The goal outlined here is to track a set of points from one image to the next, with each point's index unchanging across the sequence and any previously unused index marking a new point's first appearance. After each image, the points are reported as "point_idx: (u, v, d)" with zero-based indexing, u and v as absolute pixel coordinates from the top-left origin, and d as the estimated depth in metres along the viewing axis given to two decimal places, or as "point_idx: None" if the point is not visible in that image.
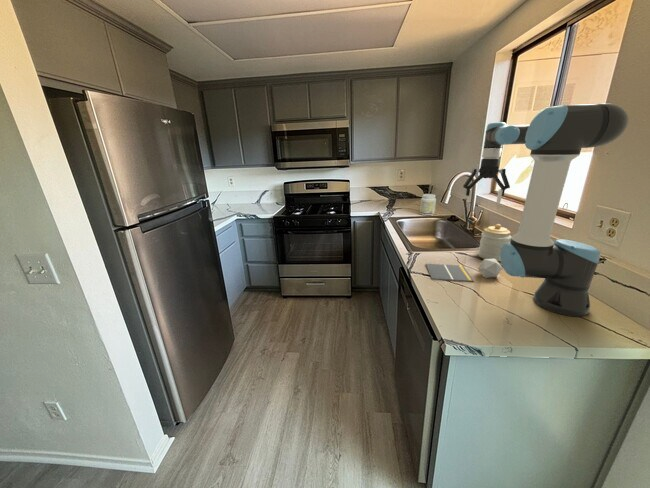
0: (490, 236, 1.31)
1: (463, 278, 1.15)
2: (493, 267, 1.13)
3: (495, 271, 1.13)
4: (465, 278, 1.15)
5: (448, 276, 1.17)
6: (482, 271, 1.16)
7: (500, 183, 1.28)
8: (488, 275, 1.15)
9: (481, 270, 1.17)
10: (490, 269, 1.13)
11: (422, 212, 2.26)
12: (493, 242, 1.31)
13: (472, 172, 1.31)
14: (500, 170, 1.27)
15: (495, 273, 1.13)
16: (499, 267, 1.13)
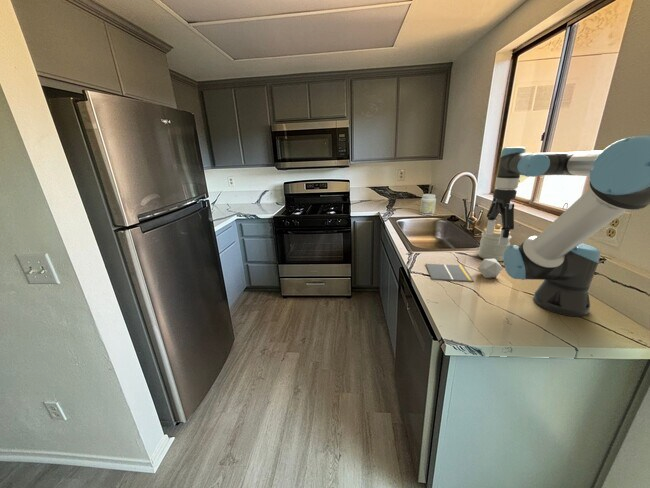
0: (490, 236, 1.31)
1: (463, 278, 1.15)
2: (493, 267, 1.13)
3: (495, 271, 1.13)
4: (465, 278, 1.15)
5: (448, 276, 1.17)
6: (482, 271, 1.16)
7: (502, 220, 1.04)
8: (488, 275, 1.15)
9: (481, 270, 1.17)
10: (490, 269, 1.13)
11: (422, 212, 2.26)
12: (493, 242, 1.31)
13: None
14: None
15: (495, 273, 1.13)
16: (499, 267, 1.13)
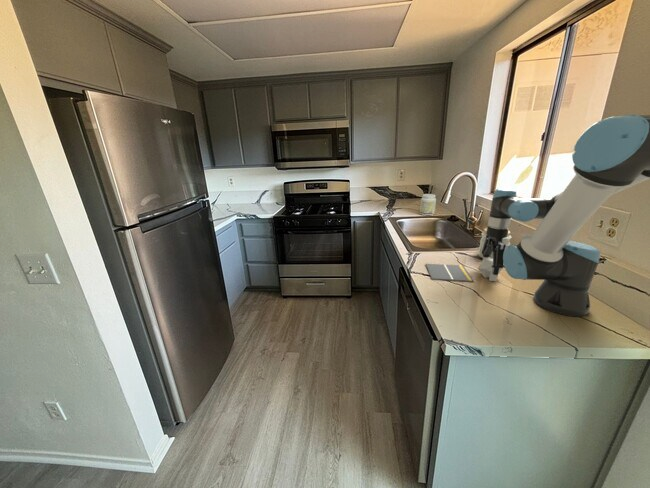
0: None
1: (463, 278, 1.15)
2: None
3: None
4: (465, 278, 1.15)
5: (448, 276, 1.17)
6: (482, 271, 1.16)
7: (493, 258, 1.11)
8: (488, 275, 1.15)
9: (481, 270, 1.17)
10: (490, 269, 1.13)
11: (422, 212, 2.26)
12: None
13: None
14: None
15: None
16: None
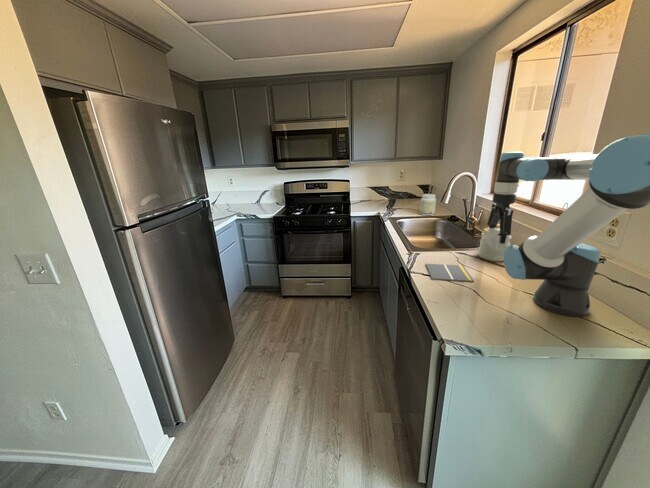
0: None
1: (463, 278, 1.15)
2: None
3: None
4: (465, 278, 1.15)
5: (448, 276, 1.17)
6: (488, 241, 1.11)
7: (500, 226, 1.06)
8: (494, 245, 1.10)
9: (487, 240, 1.12)
10: (497, 238, 1.08)
11: (422, 212, 2.26)
12: None
13: None
14: None
15: None
16: None
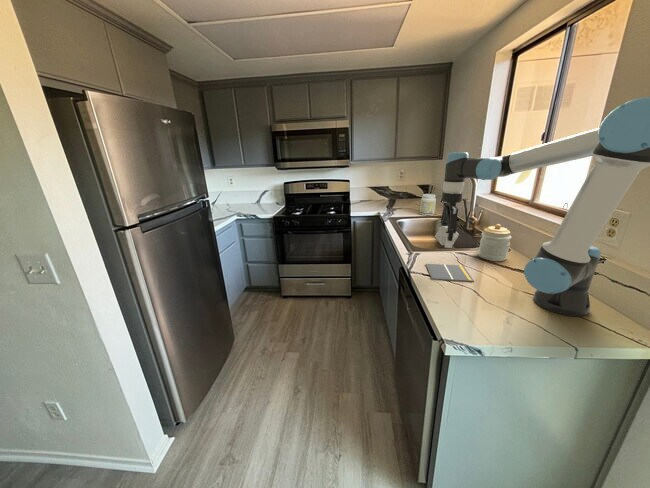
0: (490, 236, 1.31)
1: (463, 278, 1.15)
2: None
3: None
4: (465, 278, 1.15)
5: (448, 276, 1.17)
6: (439, 238, 1.15)
7: (448, 224, 1.10)
8: (444, 242, 1.14)
9: (438, 237, 1.15)
10: None
11: (422, 212, 2.26)
12: (493, 242, 1.31)
13: None
14: None
15: None
16: (455, 233, 1.12)
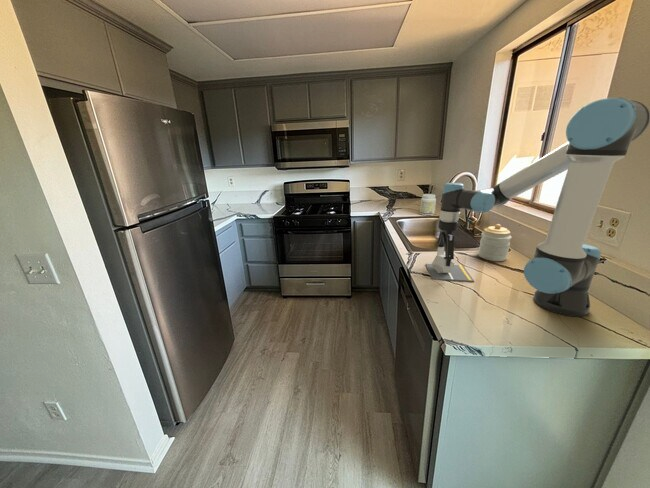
0: (490, 236, 1.31)
1: (463, 278, 1.15)
2: None
3: None
4: (465, 278, 1.15)
5: (448, 276, 1.17)
6: (435, 267, 1.20)
7: (445, 250, 1.12)
8: (440, 271, 1.19)
9: (434, 266, 1.20)
10: (442, 265, 1.17)
11: (422, 212, 2.26)
12: (493, 242, 1.31)
13: None
14: None
15: None
16: None
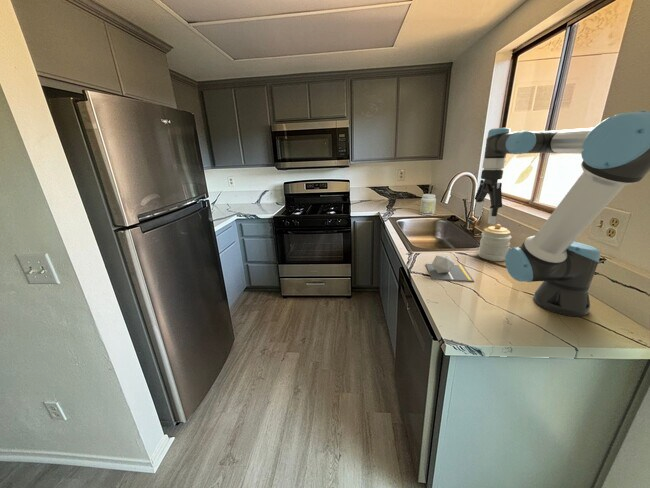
0: (490, 236, 1.31)
1: (463, 278, 1.15)
2: (444, 262, 1.17)
3: (446, 267, 1.16)
4: (465, 278, 1.15)
5: (448, 276, 1.17)
6: (435, 267, 1.20)
7: (491, 199, 1.08)
8: (440, 271, 1.19)
9: (434, 266, 1.20)
10: (442, 265, 1.17)
11: (422, 212, 2.26)
12: (493, 242, 1.31)
13: (484, 183, 1.18)
14: None
15: (446, 268, 1.16)
16: (450, 262, 1.17)
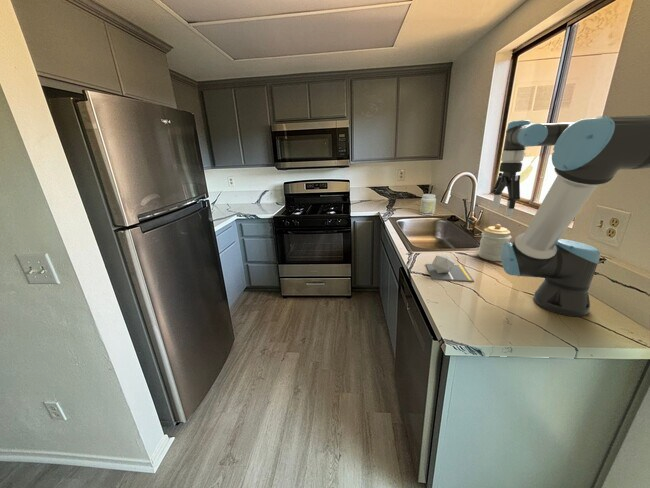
0: (490, 236, 1.31)
1: (463, 278, 1.15)
2: (444, 262, 1.17)
3: (446, 267, 1.16)
4: (465, 278, 1.15)
5: (448, 276, 1.17)
6: (435, 267, 1.20)
7: (508, 192, 1.08)
8: (440, 271, 1.19)
9: (434, 266, 1.20)
10: (442, 265, 1.17)
11: (422, 212, 2.26)
12: (493, 242, 1.31)
13: None
14: None
15: (446, 268, 1.16)
16: (450, 262, 1.17)
